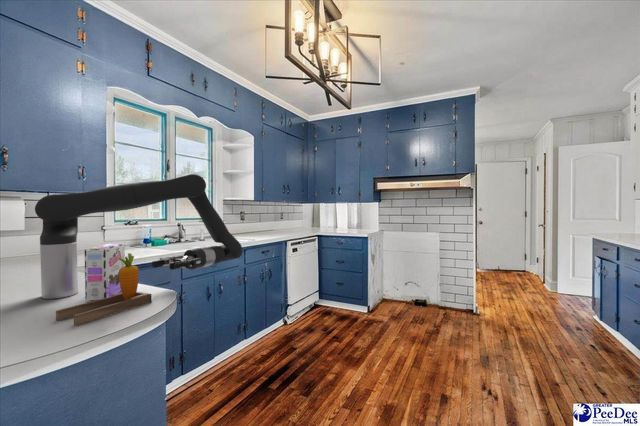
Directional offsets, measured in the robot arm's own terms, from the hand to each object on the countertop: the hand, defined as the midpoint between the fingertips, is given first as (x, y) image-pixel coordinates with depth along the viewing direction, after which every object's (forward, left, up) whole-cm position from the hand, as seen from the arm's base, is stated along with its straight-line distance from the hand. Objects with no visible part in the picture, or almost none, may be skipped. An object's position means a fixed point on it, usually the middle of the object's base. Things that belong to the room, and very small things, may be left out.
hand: (161, 265), depth 101 cm
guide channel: (0, -17, -10) cm, 19 cm away
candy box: (-16, -8, -10) cm, 20 cm away
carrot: (0, -11, -10) cm, 15 cm away
